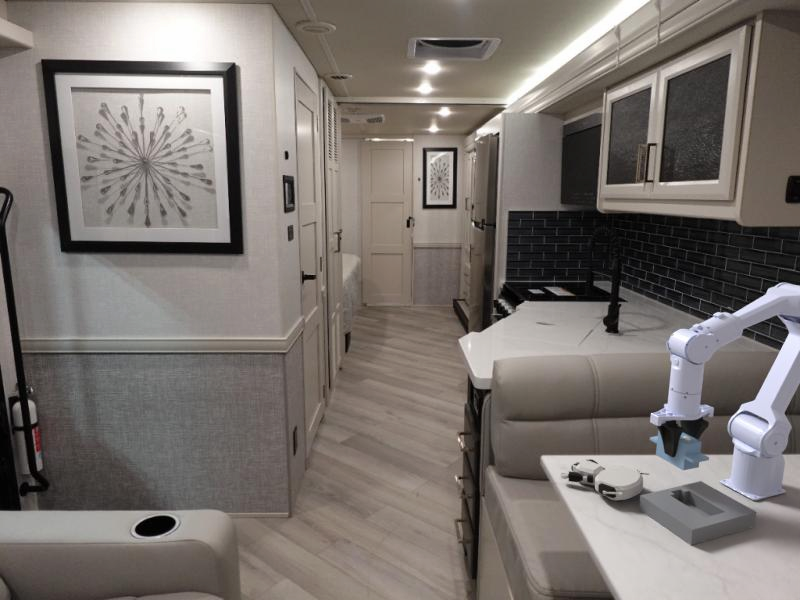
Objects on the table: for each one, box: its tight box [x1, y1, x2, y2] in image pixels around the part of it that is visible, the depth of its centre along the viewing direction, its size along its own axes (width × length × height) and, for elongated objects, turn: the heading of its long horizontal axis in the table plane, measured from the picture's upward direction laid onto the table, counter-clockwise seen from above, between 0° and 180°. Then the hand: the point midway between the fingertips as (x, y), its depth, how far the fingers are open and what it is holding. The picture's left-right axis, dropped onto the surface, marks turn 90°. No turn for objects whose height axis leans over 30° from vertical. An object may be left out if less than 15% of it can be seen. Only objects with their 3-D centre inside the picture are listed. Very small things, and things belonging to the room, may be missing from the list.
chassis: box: [638, 480, 758, 546], centre depth 103 cm, size 16×12×3 cm
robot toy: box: [560, 458, 650, 501], centre depth 114 cm, size 12×4×15 cm
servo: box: [649, 429, 710, 471], centre depth 109 cm, size 4×11×6 cm, turn 19°
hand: (678, 453), depth 109 cm, fingers closed on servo, 4 cm apart
